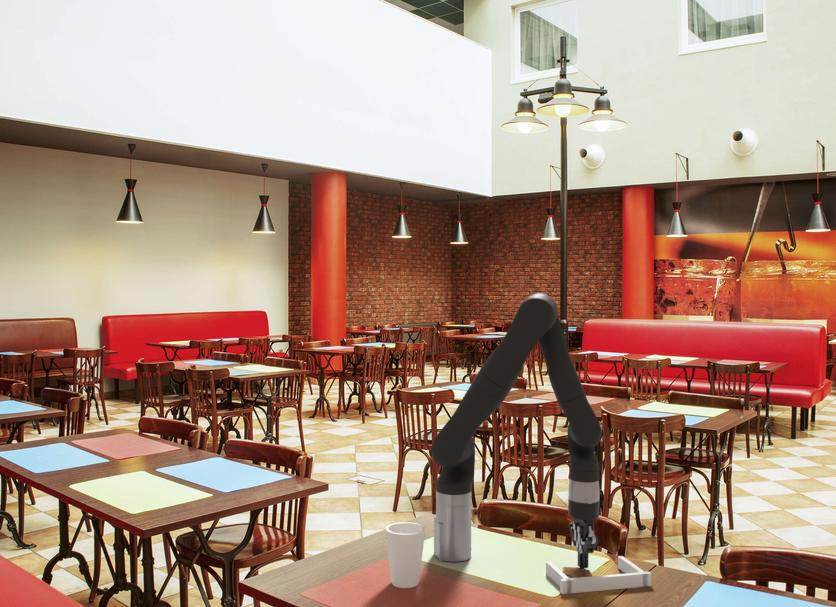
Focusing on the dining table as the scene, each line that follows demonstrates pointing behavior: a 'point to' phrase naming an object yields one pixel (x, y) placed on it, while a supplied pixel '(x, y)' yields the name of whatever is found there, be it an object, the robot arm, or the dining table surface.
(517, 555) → the dining table surface
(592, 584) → the box
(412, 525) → the foam cup
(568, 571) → the sandwich
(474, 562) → the dining table surface
